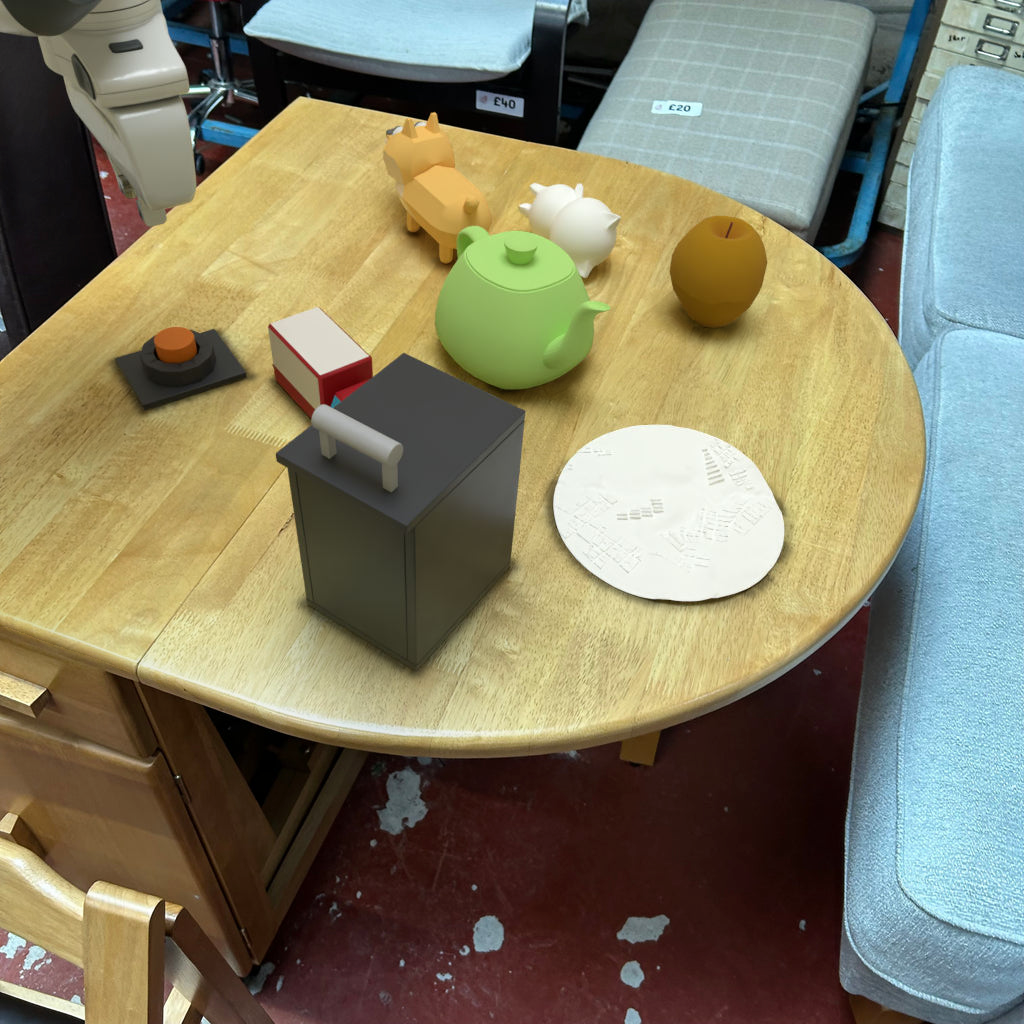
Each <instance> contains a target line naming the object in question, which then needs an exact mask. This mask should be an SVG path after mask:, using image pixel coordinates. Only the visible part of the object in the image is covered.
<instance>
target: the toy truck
mask: <svg viewBox="0 0 1024 1024" xmlns="http://www.w3.org/2000/svg"><path fill="white" fill-rule="evenodd" d="M267 330H268V338H269V345H270V352H271V358H272V367H273V372H274V373H273V374H274V379H275V381H276V382H277V383H278V384H279V385H280V386H281V387H282V388H283V389H284V391H285V392H286V393H287V394H288V395H289V396H290V397H291V398H292V399H293V401H295V403H296V404H297V405H298V406H299V407H300V408H301V409H302V410H303V411H304V412H305V413H306V415H307V416H308V417H309V418H310V419H311V418H312V415H313V413H314V411H315V410H316V408H317V407H319V406H320V405H323V404H325V405H327V406H329V407H331V408H334V407H335V406H336V405H338V404H339V403H340V402H341V401H343V400H344V399H345V398H347V397H348V396H349V395H350V394H352V393H353V392H354V391H356V390H357V389H358V388H359V387H361V386H362V385H363V384H364V383H366V382H367V381H368V380H370V379H371V378H372V377H373V376H374V372H373V357H372V356H371V355H370V354H369V353H368V352H367V351H366V350H365V349H364V348H363V347H362V346H361V345H360V344H358V342H356V341H355V340H354V339H353V337H351V336H350V335H349V334H348V333H347V332H346V331H345V330H344V329H343V328H342V327H341V326H340V325H339V324H338V323H337V322H335V320H334V319H332V318H331V316H330V315H329V314H328V313H326V312H325V311H324V310H323V309H322V308H321V307H319V306H316V307H312V308H310V309H307V310H304V311H302V312H298V313H295V314H293V315H290V316H288V317H284V318H282V319H280V320H276V321H273V322H270V323H269V324H268V326H267Z"/></svg>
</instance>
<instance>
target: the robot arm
mask: <svg viewBox="0 0 1024 1024" xmlns="http://www.w3.org/2000/svg"><path fill="white" fill-rule="evenodd" d="M0 33H4V34H9V35H10V34H11V35H17V36H23V37H34V38H35V37H36V38H38V43H39V47H40V49H41V53H42V57H43V61H44V63H45V65H46V66H47V68H48V69H50V70H51V71H53V72H54V73H56V74H58V75H60V76H62V77H63V80H64V81H63V82H64V86H65V89H66V93H67V96H68V99H69V101H70V103H71V106H72V109H73V110H74V112H75V114H76V115H77V116H78V117H79V119H80V120H81V121H82V122H83V124H84V125H85V127H86V128H87V129H88V130H89V132H90V133H91V134H92V136H93V137H94V138H95V140H96V141H97V142H98V144H99V145H100V146H101V147H102V149H103V150H104V151H105V153H106V155H107V158H108V160H109V163H110V164H111V167H112V169H113V172H114V175H115V177H116V181H117V186H118V189H119V190H120V192H121V193H122V194H123V196H124V197H125V198H126V199H128V200H132V199H135V198H137V199H135V203H136V207H137V210H138V215H139V217H140V218H141V220H142V222H143V223H144V224H145V225H146V227H149V228H152V227H156V226H160V225H165V224H166V222H167V220H168V216H167V212H166V209H172V208H176V207H180V206H182V205H186V204H187V205H188V204H190V203H191V202H193V200H194V199H195V197H196V192H197V174H196V167H195V155H194V150H193V149H194V148H193V142H192V135H191V133H192V132H191V127H190V122H189V117H188V113H187V109H186V105H185V103H184V100H183V97H182V95H185V94H188V93H189V92H190V81H189V75H188V71H187V67H186V65H185V63H184V61H183V60H182V59H183V58H182V57H181V55H180V53H179V51H178V50H177V48H176V46H175V44H174V41H173V40H172V38H171V37H170V34H169V28H168V24H167V20H166V17H165V14H164V11H163V7H162V1H161V0H0Z"/></svg>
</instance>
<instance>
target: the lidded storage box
mask: <svg viewBox="0 0 1024 1024" xmlns="http://www.w3.org/2000/svg"><path fill="white" fill-rule="evenodd" d="M525 420H526V419H525ZM525 420H524V421H523V422H522V423H520V424H519V425H518V426H517V427H516V428H515V429H514V430H513V431H512V432H511V433H510V434H509V435H508V436H507V437H506V438H505V439H504V440H503V441H502V442H501V443H500V444H499V445H498V446H497V447H496V448H495V449H494V450H493V451H492V452H491V453H490V454H489V455H488V456H487V457H486V458H485V459H483V460H482V461H481V462H480V463H479V464H478V465H477V466H476V467H475V468H474V469H473V470H472V471H471V472H470V473H469V474H468V475H467V476H466V477H465V478H464V479H463V480H462V481H461V482H460V483H459V484H458V485H457V486H456V487H455V488H454V489H453V490H452V491H451V492H450V493H449V494H447V495H446V496H445V497H444V498H443V499H442V500H441V501H440V502H439V503H438V504H437V505H436V506H435V507H434V508H433V509H432V510H431V511H430V512H429V513H428V514H427V515H426V516H425V517H424V518H423V519H422V520H421V521H420V522H419V523H418V524H417V525H416V526H415V527H414V528H413V529H412V530H410V531H409V532H408V533H407V534H405V533H403V532H402V531H400V530H398V529H396V528H395V527H393V526H391V525H389V524H387V523H386V522H384V521H382V520H380V519H378V518H377V517H375V516H373V515H371V514H369V513H368V512H366V511H364V510H362V509H360V508H359V507H357V506H355V505H353V504H352V503H350V502H348V501H346V500H344V499H343V498H341V497H339V496H337V495H335V494H334V493H332V492H330V491H328V490H326V489H325V488H323V487H321V486H319V485H317V484H316V483H314V482H312V481H310V480H308V479H307V478H305V477H303V476H301V475H300V474H298V473H296V472H294V471H292V470H291V469H289V468H287V467H286V468H287V475H288V482H289V488H290V489H289V490H290V495H291V503H292V510H293V516H294V517H293V518H294V523H295V530H296V536H297V543H298V544H297V545H298V550H299V557H300V563H301V571H302V579H303V585H304V591H305V592H304V593H305V598H306V599H305V600H306V604H307V606H309V607H311V608H312V609H314V610H316V611H317V612H319V613H320V614H321V615H323V616H325V617H327V618H328V619H330V620H332V621H334V622H335V623H336V624H338V625H340V626H342V627H343V628H345V629H347V630H348V631H349V632H351V633H353V634H355V635H356V636H358V637H359V638H361V639H363V640H364V641H366V642H368V643H369V644H370V645H372V646H374V647H376V648H377V649H378V650H380V651H382V652H384V653H385V654H387V655H388V656H390V657H392V658H393V659H395V660H397V661H398V662H400V663H402V664H403V665H405V666H407V667H408V668H410V669H411V670H413V671H415V672H418V671H419V670H420V668H421V667H422V666H423V665H424V664H425V663H426V661H427V660H428V659H429V658H430V657H431V656H432V655H433V654H434V653H435V652H436V650H437V649H438V648H439V647H440V646H441V645H442V644H443V643H444V641H445V640H446V639H447V638H448V637H449V636H450V635H451V634H452V633H453V631H454V630H455V629H456V628H457V627H458V626H459V625H460V623H461V622H462V621H464V619H466V617H467V616H468V614H469V613H470V612H471V611H472V610H473V609H474V608H475V606H476V605H477V604H479V602H480V601H481V600H482V599H483V598H484V596H485V595H487V593H488V592H490V590H491V589H492V588H493V586H494V585H495V584H496V583H497V582H498V581H499V580H500V578H502V576H503V575H504V574H505V573H506V572H507V571H508V570H509V568H510V567H511V563H512V562H511V560H512V551H513V543H514V534H515V533H514V531H515V524H516V523H515V521H516V514H517V513H516V512H517V502H518V492H519V483H520V473H521V462H522V453H523V442H524V441H523V440H524V433H525Z"/></svg>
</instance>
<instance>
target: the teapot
mask: <svg viewBox="0 0 1024 1024" xmlns="http://www.w3.org/2000/svg"><path fill="white" fill-rule="evenodd" d="M456 255H457V260H456V262H455V263H454V265H453V266H452V268H451V270H450V271H449V272H448V273H447V276H446V278H445V279H444V281H443V284H442V286H441V289H440V292H439V295H438V298H437V302H436V306H435V314H434V327H435V331H436V335H437V336H438V340H439V342H440V343H441V345H442V348H444V350H445V351H446V352H447V354H448V355H449V356H450V357H451V359H452V360H453V361H454V362H456V364H457V365H458V366H460V367H461V368H462V369H463V370H464V371H465V372H467V373H468V374H470V375H471V376H473V377H474V378H476V379H478V380H479V381H481V382H484V383H486V384H488V385H491V386H494V387H497V388H498V389H501V390H505V391H506V390H525V389H530V388H536V387H538V386H541V385H545V384H547V383H551V382H553V381H554V380H556V379H559V378H560V377H562V376H564V375H566V374H567V373H569V372H570V371H571V370H573V369H575V367H577V366H578V365H579V364H581V362H582V361H584V360H585V359H586V358H587V356H588V355H589V353H590V351H591V349H592V347H593V343H594V335H595V323H594V321H595V319H596V317H597V315H599V314H601V313H604V312H608V311H610V310H611V308H612V307H611V306H610V305H609V304H607V303H605V302H602V301H598V300H591V299H590V296H589V293H588V291H587V288H586V285H585V283H584V281H583V277H582V276H580V274H579V272H578V269H577V268H576V266H575V264H574V262H573V261H572V259H571V258H570V256H569V255H568V254H567V253H566V252H565V251H564V250H563V249H562V248H560V247H559V246H558V245H556V244H555V243H553V242H552V241H550V240H548V239H546V238H544V237H542V236H539V235H537V234H533V232H529V231H525V230H507V231H502V232H497V233H495V234H494V233H493V234H492V235H491V234H490V233H489V232H487V231H486V230H485V229H483V228H482V227H479V226H470V227H467V228H464V229H463V230H461V231H460V232H459V234H458V236H457V249H456Z"/></svg>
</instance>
